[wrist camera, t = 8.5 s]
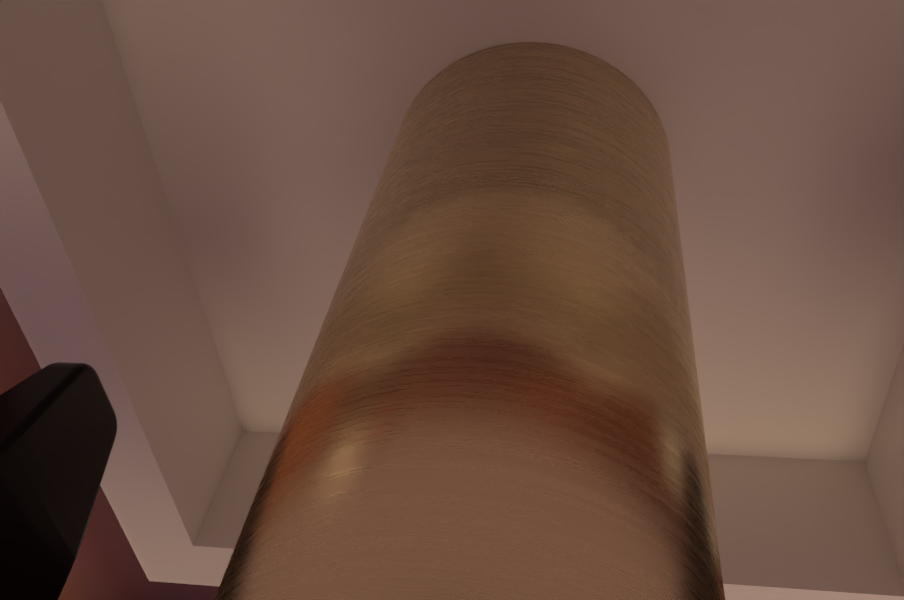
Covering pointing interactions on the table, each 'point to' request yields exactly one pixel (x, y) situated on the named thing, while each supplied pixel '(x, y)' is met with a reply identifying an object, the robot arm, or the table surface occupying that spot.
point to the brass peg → (500, 364)
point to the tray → (348, 198)
